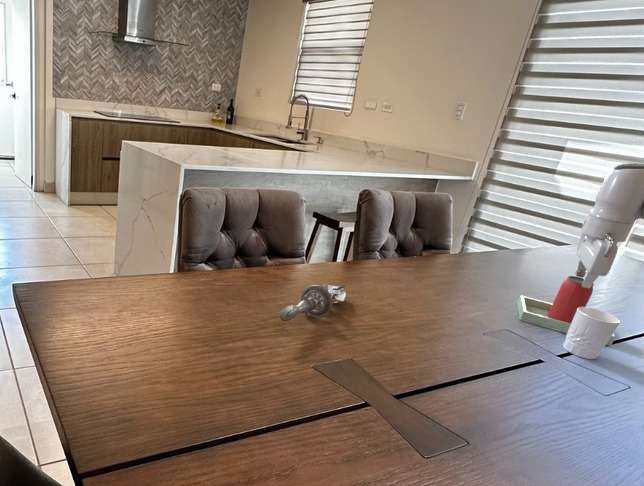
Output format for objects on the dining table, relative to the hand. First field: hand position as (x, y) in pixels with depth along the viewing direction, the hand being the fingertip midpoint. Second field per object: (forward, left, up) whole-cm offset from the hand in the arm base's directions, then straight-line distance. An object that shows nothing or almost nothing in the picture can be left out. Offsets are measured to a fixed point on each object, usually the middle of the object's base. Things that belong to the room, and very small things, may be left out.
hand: (582, 281), depth 121 cm
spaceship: (+55, +46, -13) cm, 73 cm away
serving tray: (0, 0, -12) cm, 12 cm away
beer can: (0, 0, -12) cm, 12 cm away
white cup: (-2, +17, -13) cm, 21 cm away
